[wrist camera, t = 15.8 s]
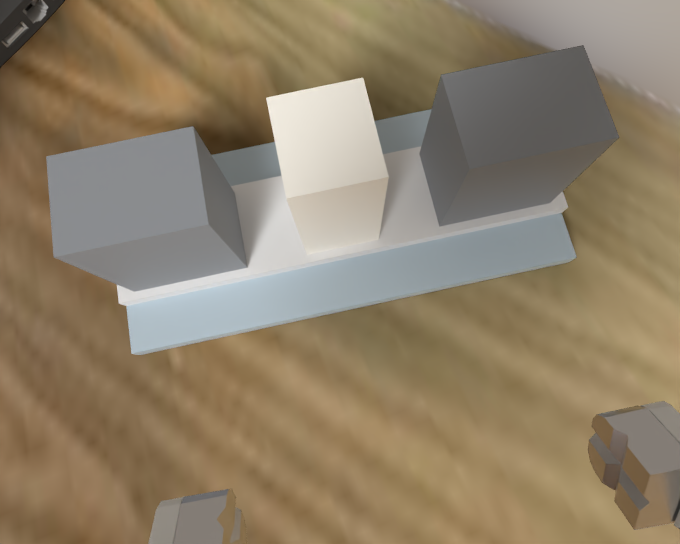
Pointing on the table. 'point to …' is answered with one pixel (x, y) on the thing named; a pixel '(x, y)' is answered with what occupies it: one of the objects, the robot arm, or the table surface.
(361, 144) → the block
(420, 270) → the twin block stand
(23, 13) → the media streaming box
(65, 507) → the table surface
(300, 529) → the table surface
